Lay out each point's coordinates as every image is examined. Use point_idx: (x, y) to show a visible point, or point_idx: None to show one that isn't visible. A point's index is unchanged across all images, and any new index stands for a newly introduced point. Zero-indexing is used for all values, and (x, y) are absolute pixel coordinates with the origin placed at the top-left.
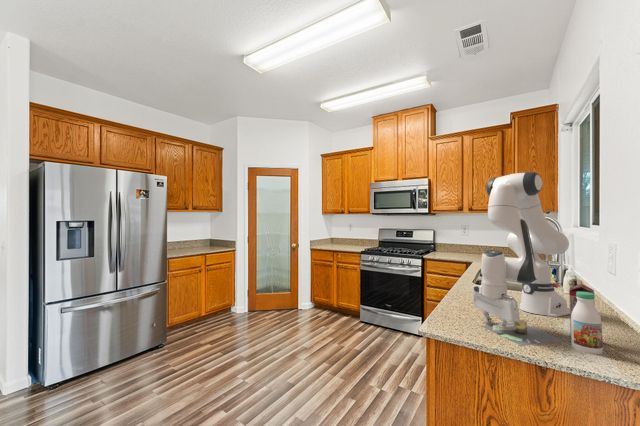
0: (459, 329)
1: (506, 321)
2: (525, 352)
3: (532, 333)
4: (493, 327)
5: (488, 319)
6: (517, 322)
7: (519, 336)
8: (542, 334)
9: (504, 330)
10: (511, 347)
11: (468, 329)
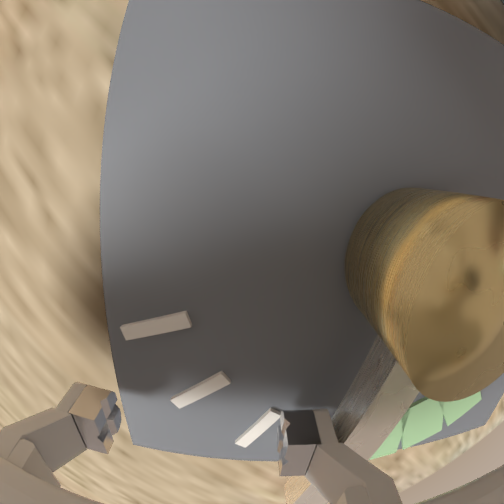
0: (142, 498)
1: (381, 486)
2: (491, 414)
3: (455, 146)
4: (288, 494)
5: (109, 441)
6: (481, 384)
7: None
8: (485, 88)
9: (289, 367)
10: (438, 443)
11: (144, 477)
